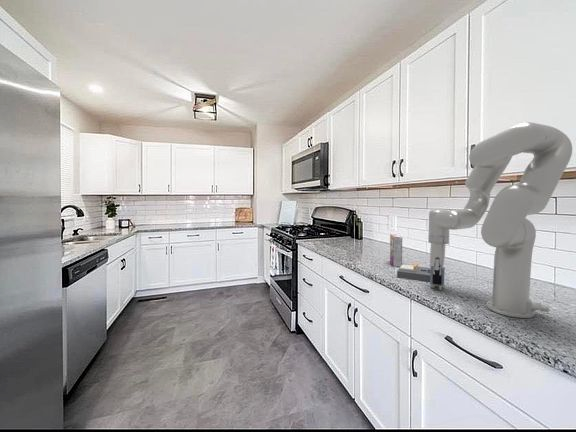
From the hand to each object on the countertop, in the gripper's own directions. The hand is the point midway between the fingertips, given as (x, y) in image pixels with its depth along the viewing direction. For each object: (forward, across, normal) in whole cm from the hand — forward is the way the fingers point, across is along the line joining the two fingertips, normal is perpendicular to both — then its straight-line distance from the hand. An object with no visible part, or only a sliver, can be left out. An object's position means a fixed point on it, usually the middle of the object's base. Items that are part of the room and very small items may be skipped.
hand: (437, 282), depth 115 cm
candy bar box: (+3, -32, -22) cm, 39 cm away
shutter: (-1, -14, -13) cm, 19 cm away
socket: (+2, -14, -9) cm, 17 cm away
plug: (+2, 0, 0) cm, 2 cm away
